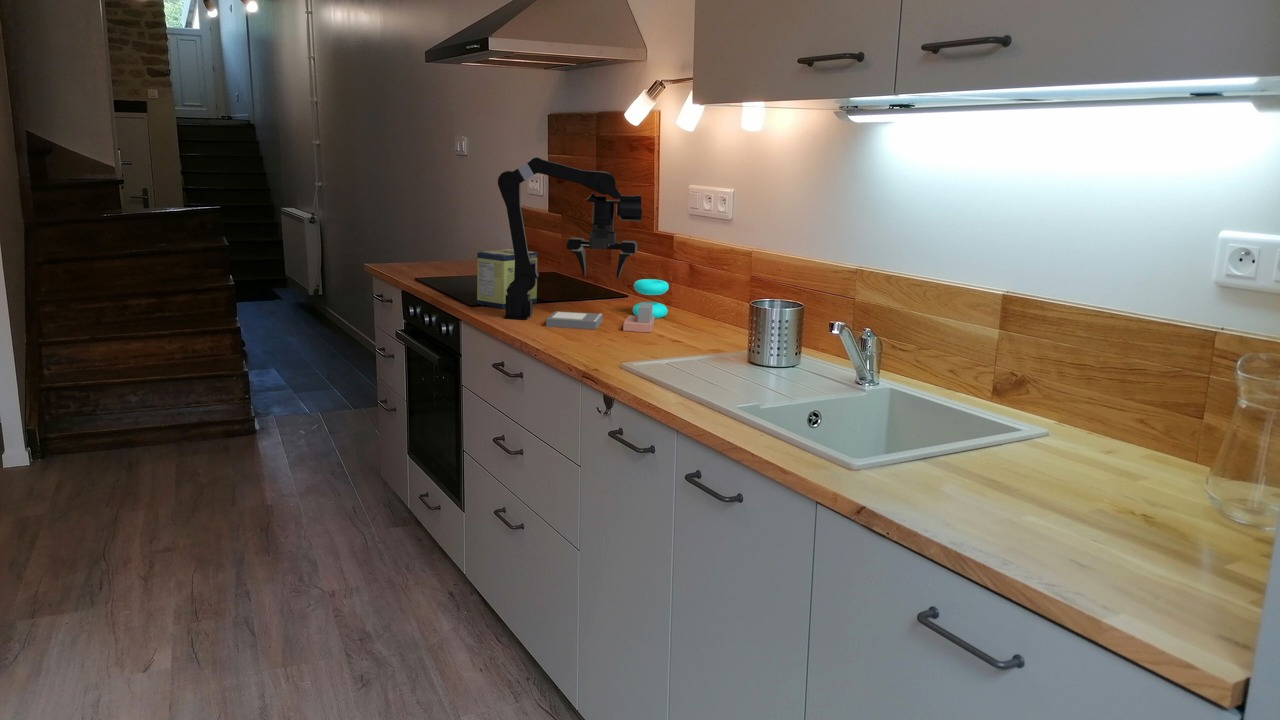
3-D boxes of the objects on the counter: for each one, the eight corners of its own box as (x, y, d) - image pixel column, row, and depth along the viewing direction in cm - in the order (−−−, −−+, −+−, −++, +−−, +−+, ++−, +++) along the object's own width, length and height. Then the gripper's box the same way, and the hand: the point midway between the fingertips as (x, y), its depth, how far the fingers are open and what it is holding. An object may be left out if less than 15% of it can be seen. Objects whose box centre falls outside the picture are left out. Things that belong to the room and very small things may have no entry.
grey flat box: (546, 326, 246) (546, 318, 245) (555, 318, 257) (555, 310, 257) (595, 329, 244) (596, 321, 244) (602, 321, 256) (602, 313, 255)
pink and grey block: (623, 330, 244) (624, 308, 242) (628, 322, 255) (629, 300, 254) (649, 332, 243) (650, 309, 242) (654, 323, 255) (655, 302, 253)
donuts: (664, 284, 259) (629, 281, 262) (662, 320, 261) (628, 317, 264) (672, 280, 269) (639, 277, 271) (671, 314, 271) (637, 311, 273)
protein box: (537, 303, 280) (538, 251, 277) (503, 309, 267) (503, 255, 264) (510, 298, 286) (511, 248, 282) (475, 305, 273) (476, 251, 269)
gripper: (563, 219, 245) (561, 278, 248) (633, 223, 243) (631, 283, 246) (571, 216, 256) (569, 273, 259) (638, 220, 254) (636, 277, 257)
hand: (600, 277), depth 255 cm, fingers open, 9 cm apart
